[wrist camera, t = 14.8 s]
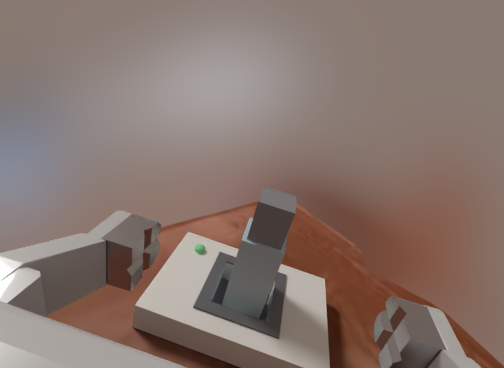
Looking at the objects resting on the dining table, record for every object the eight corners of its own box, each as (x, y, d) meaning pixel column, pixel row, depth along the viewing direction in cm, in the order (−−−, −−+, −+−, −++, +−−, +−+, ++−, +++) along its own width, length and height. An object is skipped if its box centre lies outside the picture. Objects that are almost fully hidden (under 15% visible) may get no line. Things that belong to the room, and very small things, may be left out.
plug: (260, 298, 33) (301, 196, 27) (255, 328, 29) (299, 217, 23) (228, 287, 33) (260, 183, 27) (218, 315, 29) (253, 202, 23)
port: (316, 296, 36) (325, 276, 35) (317, 396, 25) (332, 374, 24) (184, 249, 37) (188, 229, 36) (132, 326, 26) (135, 302, 25)
